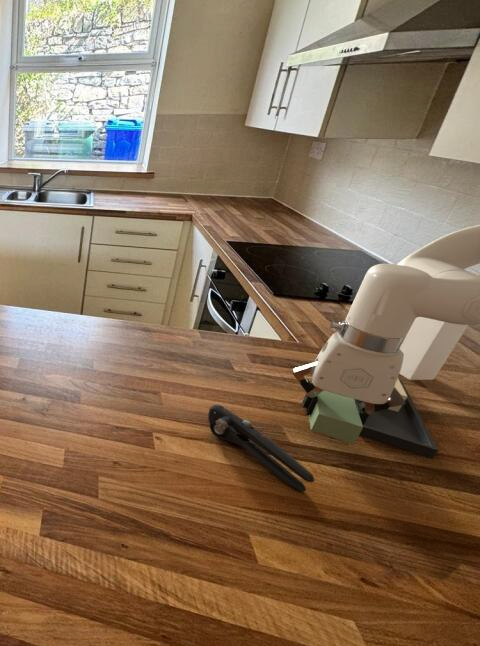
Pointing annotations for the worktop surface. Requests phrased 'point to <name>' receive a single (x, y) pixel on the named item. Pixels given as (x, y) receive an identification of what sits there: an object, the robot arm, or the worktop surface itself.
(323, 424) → the pad
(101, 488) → the worktop surface
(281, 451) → the can opener
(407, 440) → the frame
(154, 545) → the worktop surface
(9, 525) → the worktop surface
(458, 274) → the robot arm
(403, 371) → the milk
